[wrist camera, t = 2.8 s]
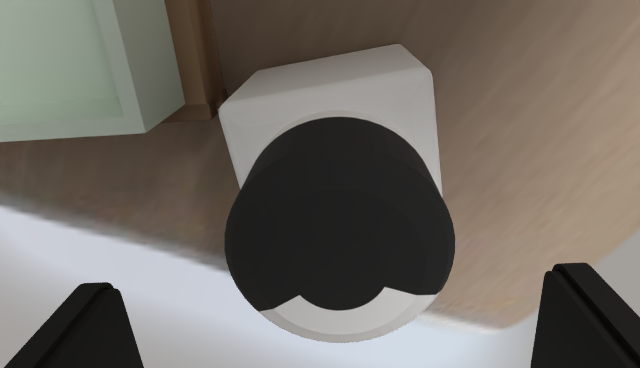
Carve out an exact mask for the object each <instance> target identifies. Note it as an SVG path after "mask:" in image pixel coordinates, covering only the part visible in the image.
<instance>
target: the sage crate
mask: <svg viewBox="0 0 640 368" xmlns="http://www.w3.org/2000/svg"><path fill="white" fill-rule="evenodd" d="M183 105H185V99H184V94H183V89H182V84H181V80H180V75H179V70H178V65H177V60H176V55H175V50H174V45H173V41H172V36H171V31H170V26H169V21H168V16H167V11H166V6H165V1H164V0H0V142H9V141H26V140H42V139H59V138H75V137H91V136H108V135H124V134H141V133H147V132H148V131H149V130H151V129H152V128H153V127H155V126H156V125H158V124H159V123H160V122H162V121H163V120H164V119H166V118H167V117H168V116H170V115H171V114H173V113H174V112H175V111H177V110H178V109H179V108H181V107H182V106H183Z"/></svg>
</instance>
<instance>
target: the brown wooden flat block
mask: <svg viewBox="0 0 640 368" xmlns="http://www.w3.org/2000/svg"><path fill="white" fill-rule="evenodd" d="M164 1H165V6H166V11H167V16H168V21H169V26H170V31H171V36H172V41H173V45H174V50H175V55H176V60H177V65H178V70H179V75H180V80H181V84H182V89H183V94H184V99H185V105H183V106H182V107H181V108H179V109H178V110H177V111H175V112H174V113H173V114H171V115H170V116H168V117H167V118H166V119H164V120H163V121H162V122H160V123H167V122H183V121H199V120H212V119H213V118H214V117H215V116H216V115H217V114H218V112H217V108H220V106H221V105H222V104H223V103H224V102H225V101H226V100H227V99H228V98H227V92H226V89H224V86H223V80H222V74H221V68H220V62H219V56H218V50H217V44H216V38H215V32H214V26H213V20H212V14H211V8H210V2H209V0H164Z"/></svg>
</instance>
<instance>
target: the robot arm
mask: <svg viewBox="0 0 640 368" xmlns="http://www.w3.org/2000/svg"><path fill="white" fill-rule="evenodd" d="M4 368H144V367H143V364H142V360H141V357H140V354H139V351H138V347H137V344H136V341H135V338H134V334H133V331H132V328H131V325H130V321H129V318H128V315H127V312H126V308H125V305H124V302H123V299H122V296H121V293H120V291H119V290H118V289H114V288H113V286H112V285H111V284H110V283H106V282H105V283H84V284H81V285H79V286H78V287H77V288H76V289H75V290H74V291H73V292H72V293H71V295H70V296H69V297H68V298H67V299H66V300H65V301H64V302H63V303H62V304H61V306H60V307H59V308H58V309H57V310H56V311H55V312H54V313H53V314H52V315H51V316H50V318H49V319H48V320H47V321H46V322H45V323H44V324H43V325H42V326H41V327H40V329H39V330H38V331H37V332H36V333H35V334H34V335H33V337H31V338H30V340H29V341H28V342H27V343H26V344H25V345H24V346H23V347H22V348H21V350H20V351H19V352H18V353H17V354H16V355H15V356H14V357H13V358H12V359H11V360H10V362H9V363H8V364H7V365H6V366H5V367H4ZM531 368H640V317H639V316H638V315H637V314H636V313H635V312H634V311H633V310H632V309H631V308H630V307H629V306H628V305H627V304H626V303H625V302H624V300H623V299H622V298H621V297H620V296H619V295H618V294H617V293H616V292H615V291H614V290H613V289H612V288H611V287H610V286H609V285H608V284H607V283H606V282H605V281H604V280H603V279H602V278H601V276H599V274H598V273H597V272H596V271H595V270H594V269H593V268H592V267H591V266H590V265H588V264H587V263H564V264H556V265H555V266H554V267H553V269H552V271H547V272H546V273H545V276H544V281H543V288H542V295H541V301H540V308H539V314H538V321H537V327H536V334H535V341H534V347H533V354H532V360H531Z"/></svg>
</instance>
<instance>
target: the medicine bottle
mask: <svg viewBox="0 0 640 368" xmlns="http://www.w3.org/2000/svg"><path fill="white" fill-rule="evenodd" d="M219 118H220V122H221V125H222V129H223V132H224V136H225V139H226V142H227V146H228V149H229V153H230V156H231V160H232V163H233V166H234V170H235V173H236V177H237V180H238V184H239V187H240V192H239V194H238V196H237V198H236V200H235V202H234V204H233V206H232V208H231V211H230V214H229V217H228V220H227V224H226V230H225V254H226V260H227V264H228V267H229V270H230V273H231V276H232V278H233V280H234V282H235V284H236V286H237V287H238V289H239V290H240V292H241V293H242V294H243V296H244V297H245V299H247V301H248V302H249V303H250V304H251V305H252V306H253V307H254V308H255V309H256V310H257V311H258V312H260V313H261V314H262V315H263V316H264V317H266V318H267V319H268V320H269V321H271V322H273V323H274V324H276V325H277V326H279V327H281V328H282V329H285V330H287V331H289V332H291V333H293V334H296V335H299V336H301V337H304V338H308V339H313V340H317V341H324V342H332V343H333V342H334V343H335V342H336V343H348V342H359V341H364V340H369V339H373V338H377V337H380V336H383V335H386V334H388V333H390V332H393V331H395V330H397V329H399V328H400V327H402V326H404V325H406V324H407V323H409V322H410V321H412V320H413V319H414V318H415V317H417V316H418V315H419V314H421V313H422V312H423V311H424V310H425V309H426V308H427V307H428V306H429V305H430V304H431V303H432V302H433V301H434V300H435V298H436V297H437V296H438V294H439V293H440V292H441V290H442V288H443V287H444V285H445V283H446V281H447V279H448V277H449V274H450V271H451V268H452V265H453V260H454V254H455V234H454V228H453V223H452V220H451V217H450V214H449V211H448V209H447V207H446V205H445V203H444V200H443V196H442V184H441V172H440V160H439V148H438V136H437V124H436V112H435V101H434V89H433V77H432V74H431V71H430V70H429V69H428V68H427V67H425V66H424V65H423V64H422V63H421V62H420V61H419V60H418V59H417V58H415V57H414V56H413V55H412V54H411V53H410V52H409V51H408V50H407V49H405V48H404V47H403V46H402V45H401V44H393V45H388V46H382V47H377V48H372V49H367V50H361V51H356V52H351V53H346V54H340V55H335V56H330V57H325V58H320V59H314V60H309V61H304V62H299V63H293V64H288V65H283V66H278V67H272V68H267V69H262V70H258V71H256V72H255V73H254V74H253V75H252V76H251V77H250V78H249V79H248V80H247V81H246V82H245V83H244V84H243V85H242V86H241V87H239V88H238V89H237V90H236V91H235V92H234V93H233V94H232V95H231V96H230V97H229V98H228V99H227V100H226V101H225V102H224V103H223V104H222V105H221V106H220V108H219Z"/></svg>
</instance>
